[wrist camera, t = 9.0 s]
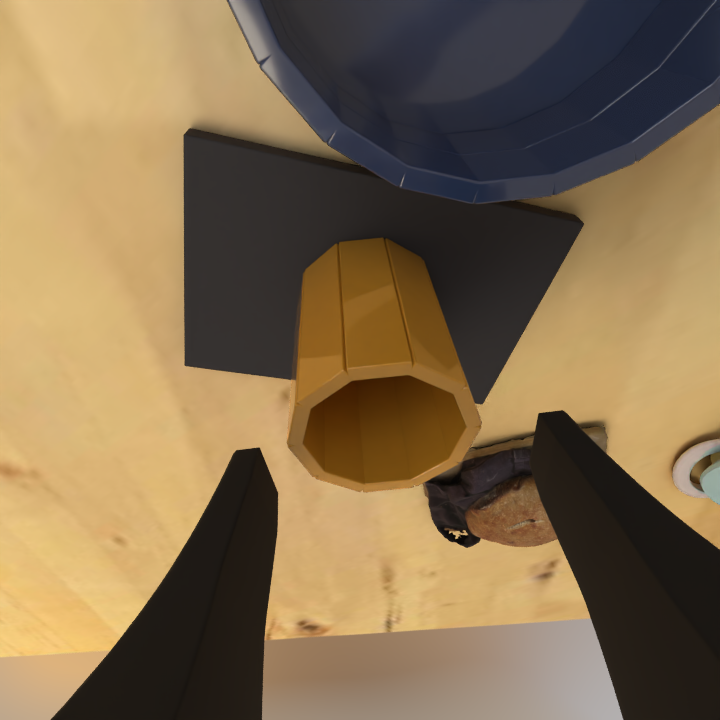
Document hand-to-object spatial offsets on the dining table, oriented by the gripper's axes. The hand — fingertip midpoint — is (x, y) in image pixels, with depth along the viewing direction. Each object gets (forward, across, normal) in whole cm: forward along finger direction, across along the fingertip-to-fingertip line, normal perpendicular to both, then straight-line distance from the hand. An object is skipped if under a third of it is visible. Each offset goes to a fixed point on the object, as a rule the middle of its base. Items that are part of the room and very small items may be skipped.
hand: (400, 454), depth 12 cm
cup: (+8, 0, 0) cm, 8 cm away
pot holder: (+9, 0, 0) cm, 9 cm away
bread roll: (+9, -7, +15) cm, 19 cm away
